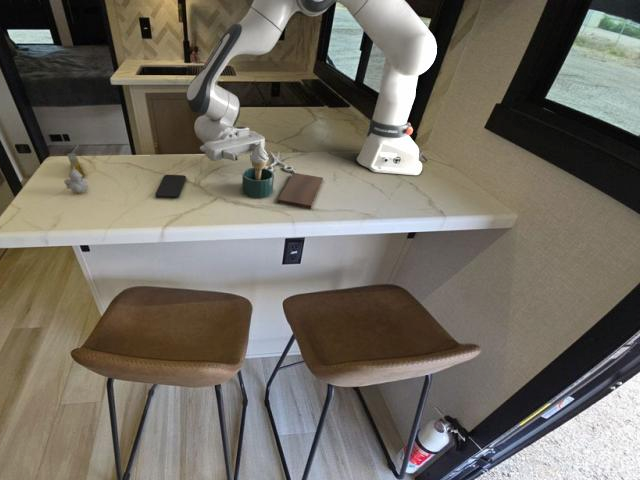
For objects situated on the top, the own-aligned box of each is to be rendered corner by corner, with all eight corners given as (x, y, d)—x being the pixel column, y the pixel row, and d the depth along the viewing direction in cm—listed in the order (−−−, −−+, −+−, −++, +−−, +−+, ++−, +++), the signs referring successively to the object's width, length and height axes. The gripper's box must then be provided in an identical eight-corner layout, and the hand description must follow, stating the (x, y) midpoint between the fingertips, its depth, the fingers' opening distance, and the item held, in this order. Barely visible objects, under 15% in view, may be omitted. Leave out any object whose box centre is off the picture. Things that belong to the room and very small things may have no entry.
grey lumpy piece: (87, 196, 102) (78, 170, 96) (65, 196, 102) (55, 170, 96) (92, 187, 106) (84, 162, 100) (70, 187, 106) (61, 162, 100)
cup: (275, 187, 108) (277, 170, 105) (267, 200, 102) (268, 183, 98) (247, 182, 111) (248, 165, 107) (237, 195, 104) (238, 177, 100)
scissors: (265, 171, 115) (260, 149, 129) (265, 174, 115) (260, 151, 129) (296, 172, 115) (288, 149, 129) (296, 174, 116) (288, 151, 130)
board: (322, 180, 112) (323, 177, 112) (310, 209, 99) (311, 205, 98) (293, 176, 115) (293, 172, 114) (277, 203, 101) (278, 199, 100)
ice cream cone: (245, 188, 107) (247, 138, 97) (261, 185, 109) (264, 136, 98) (252, 195, 103) (255, 145, 93) (269, 192, 105) (273, 142, 95)
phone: (186, 175, 112) (178, 196, 101) (186, 177, 112) (179, 199, 101) (164, 174, 112) (154, 195, 101) (164, 176, 112) (154, 198, 101)
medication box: (71, 165, 118) (66, 153, 115) (79, 163, 118) (74, 151, 116) (76, 178, 110) (71, 166, 107) (85, 175, 111) (80, 164, 108)
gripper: (196, 136, 105) (219, 151, 97) (250, 125, 113) (275, 138, 105) (197, 157, 109) (219, 172, 101) (250, 145, 118) (274, 158, 109)
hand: (248, 155), depth 103 cm, fingers open, 8 cm apart
